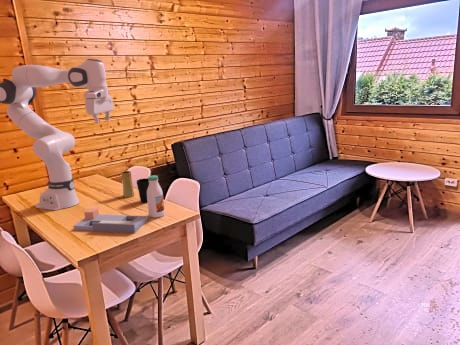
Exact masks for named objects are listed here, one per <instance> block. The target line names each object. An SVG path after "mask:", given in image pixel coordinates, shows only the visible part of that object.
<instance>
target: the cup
mask: <svg viewBox="0 0 460 345" xmlns="http://www.w3.org/2000/svg"><path fill="white" fill-rule="evenodd" d="M136 185H137V191H138V195H139V200H140V203H142V204H148V202H147V189H148V186H149V180H148V177H147V178H145V177H144V178H140V179H137V180H136Z"/></svg>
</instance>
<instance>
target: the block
mask: <svg viewBox="0 0 460 345" xmlns="http://www.w3.org/2000/svg"><path fill="white" fill-rule="evenodd" d="M83 213H84V218H85V219H95V218H96V217H98V216H99V214H100V213H99V208H88V209H86V210H85V211H84V212H83Z"/></svg>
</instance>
